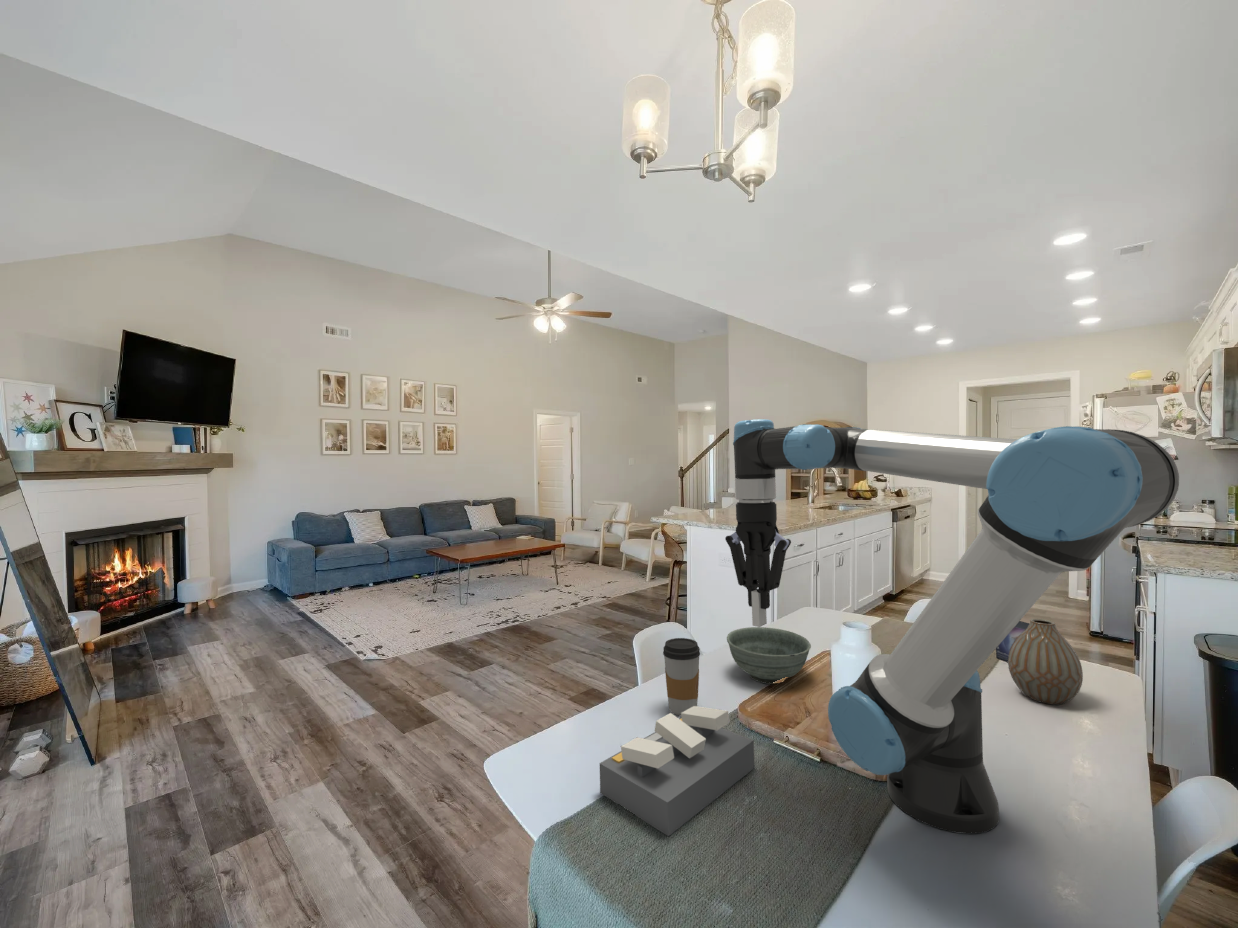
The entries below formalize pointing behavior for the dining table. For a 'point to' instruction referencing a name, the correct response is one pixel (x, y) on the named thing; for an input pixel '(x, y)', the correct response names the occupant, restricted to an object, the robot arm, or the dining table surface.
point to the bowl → (768, 652)
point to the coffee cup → (681, 673)
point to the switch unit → (678, 779)
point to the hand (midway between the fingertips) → (759, 624)
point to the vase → (1045, 664)
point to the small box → (1010, 641)
